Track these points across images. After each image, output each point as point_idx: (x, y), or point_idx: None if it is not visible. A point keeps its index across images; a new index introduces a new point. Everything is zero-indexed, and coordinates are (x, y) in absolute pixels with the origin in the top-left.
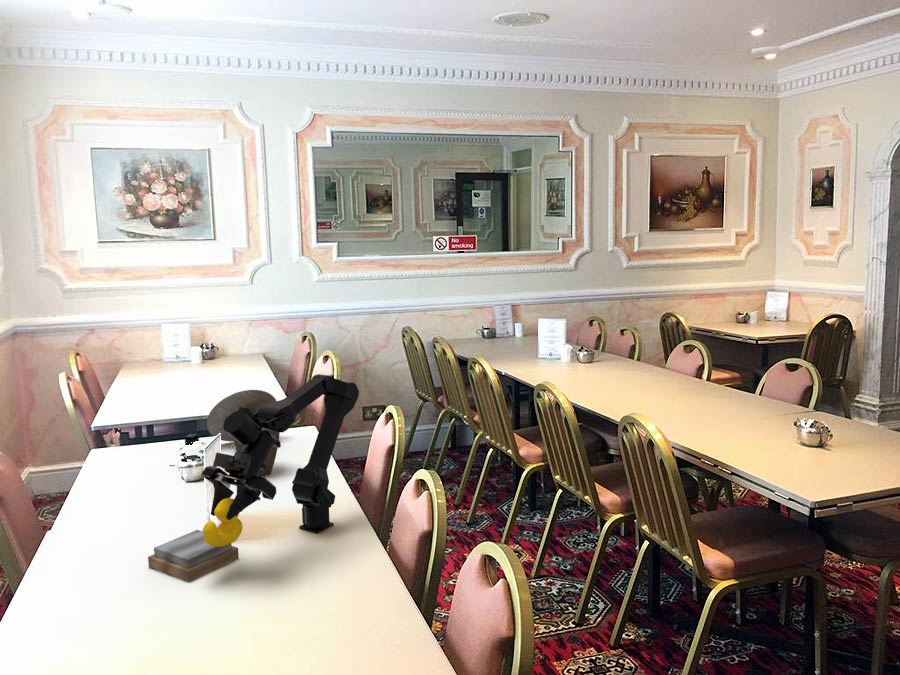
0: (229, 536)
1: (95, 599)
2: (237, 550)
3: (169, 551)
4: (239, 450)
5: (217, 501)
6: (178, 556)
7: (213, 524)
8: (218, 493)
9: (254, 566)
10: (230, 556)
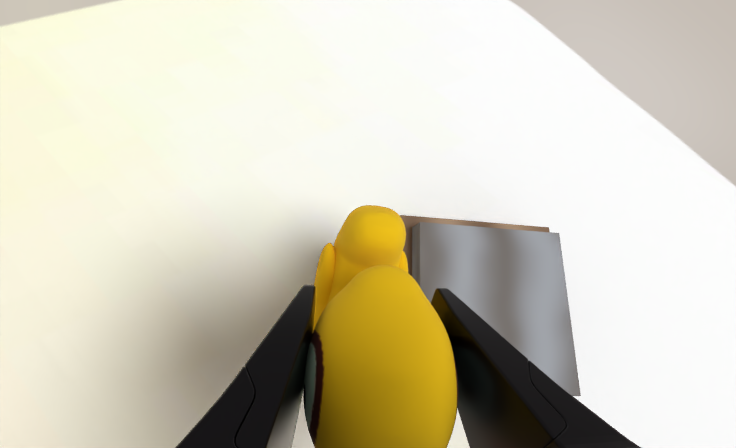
0: None
1: (485, 98)
2: None
3: (506, 236)
4: None
5: (478, 361)
6: (460, 225)
7: (354, 229)
8: (534, 415)
9: None
10: None
